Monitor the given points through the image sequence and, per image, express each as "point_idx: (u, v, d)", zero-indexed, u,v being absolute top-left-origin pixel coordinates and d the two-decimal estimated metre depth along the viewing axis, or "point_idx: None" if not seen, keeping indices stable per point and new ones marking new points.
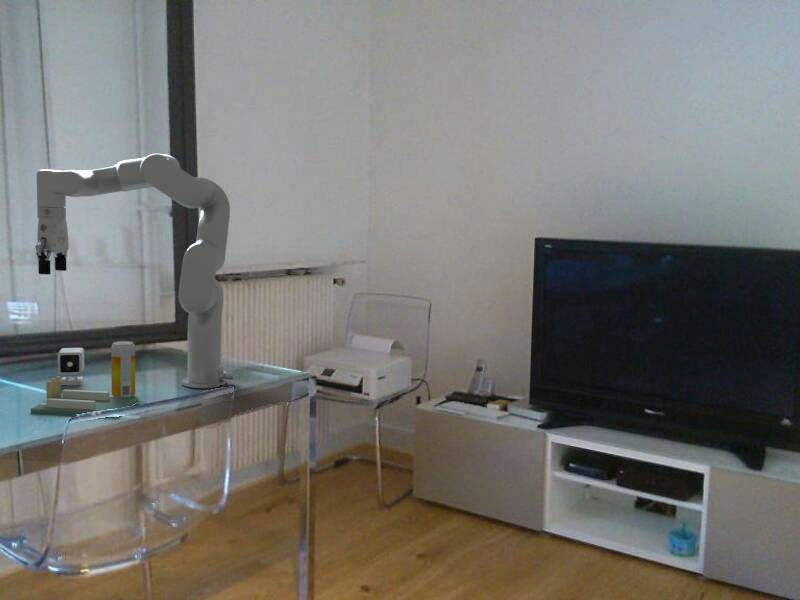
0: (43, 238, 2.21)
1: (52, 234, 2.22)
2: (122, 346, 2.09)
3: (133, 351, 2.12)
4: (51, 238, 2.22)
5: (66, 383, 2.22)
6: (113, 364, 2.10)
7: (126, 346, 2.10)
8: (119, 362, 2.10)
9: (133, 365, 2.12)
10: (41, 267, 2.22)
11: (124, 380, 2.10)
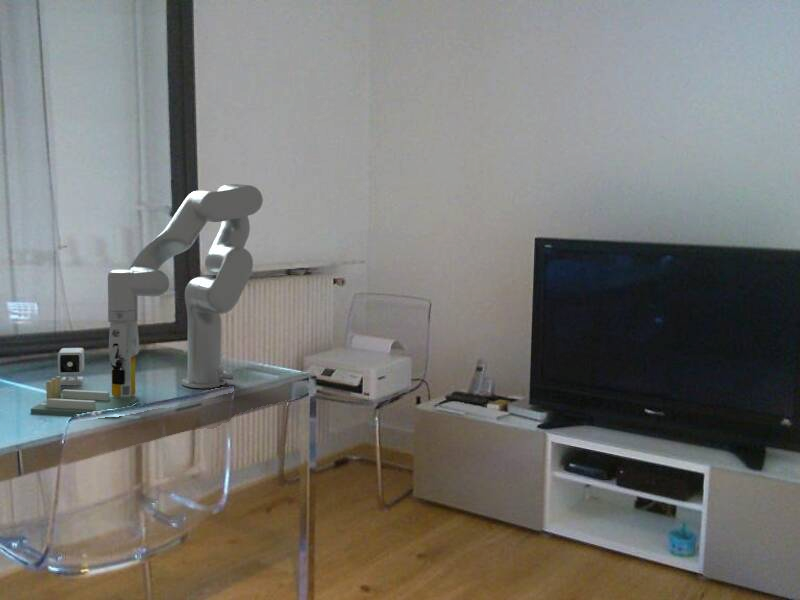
0: (115, 346, 2.07)
1: (125, 340, 2.07)
2: None
3: (133, 351, 2.12)
4: (124, 344, 2.07)
5: (66, 383, 2.22)
6: None
7: None
8: (119, 362, 2.10)
9: (133, 365, 2.12)
10: (115, 377, 2.09)
11: None
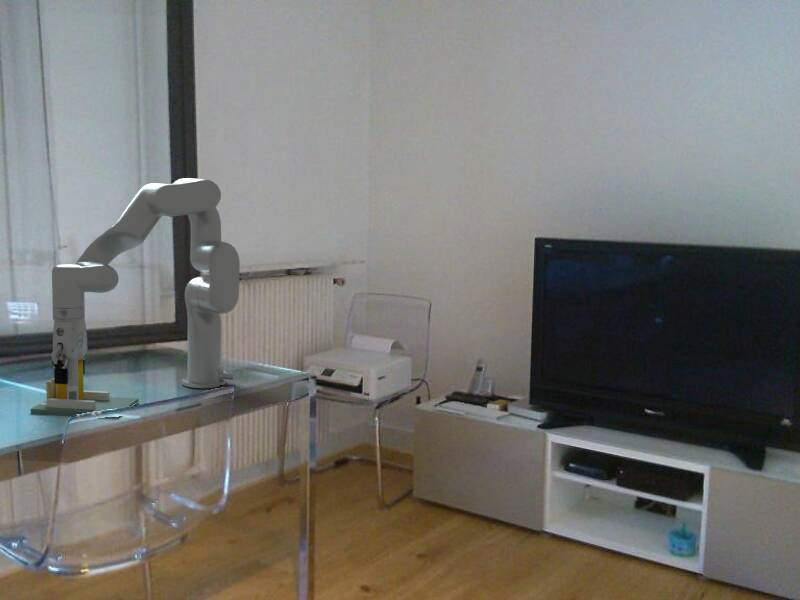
0: (59, 344, 1.95)
1: (70, 339, 1.95)
2: None
3: (80, 354, 2.00)
4: (68, 343, 1.95)
5: None
6: None
7: None
8: None
9: (80, 369, 2.01)
10: (57, 376, 1.95)
11: (70, 384, 1.99)
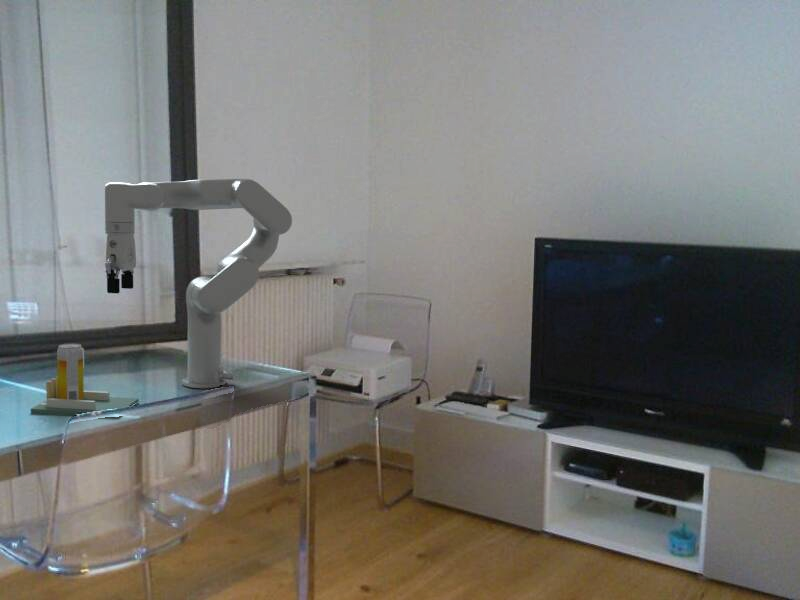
0: (112, 255, 2.10)
1: (122, 251, 2.10)
2: (68, 349, 1.98)
3: (80, 354, 2.00)
4: (121, 255, 2.10)
5: None
6: (59, 368, 1.99)
7: (72, 349, 1.98)
8: (65, 366, 1.98)
9: (80, 369, 2.01)
10: (110, 286, 2.10)
11: (70, 384, 1.99)
